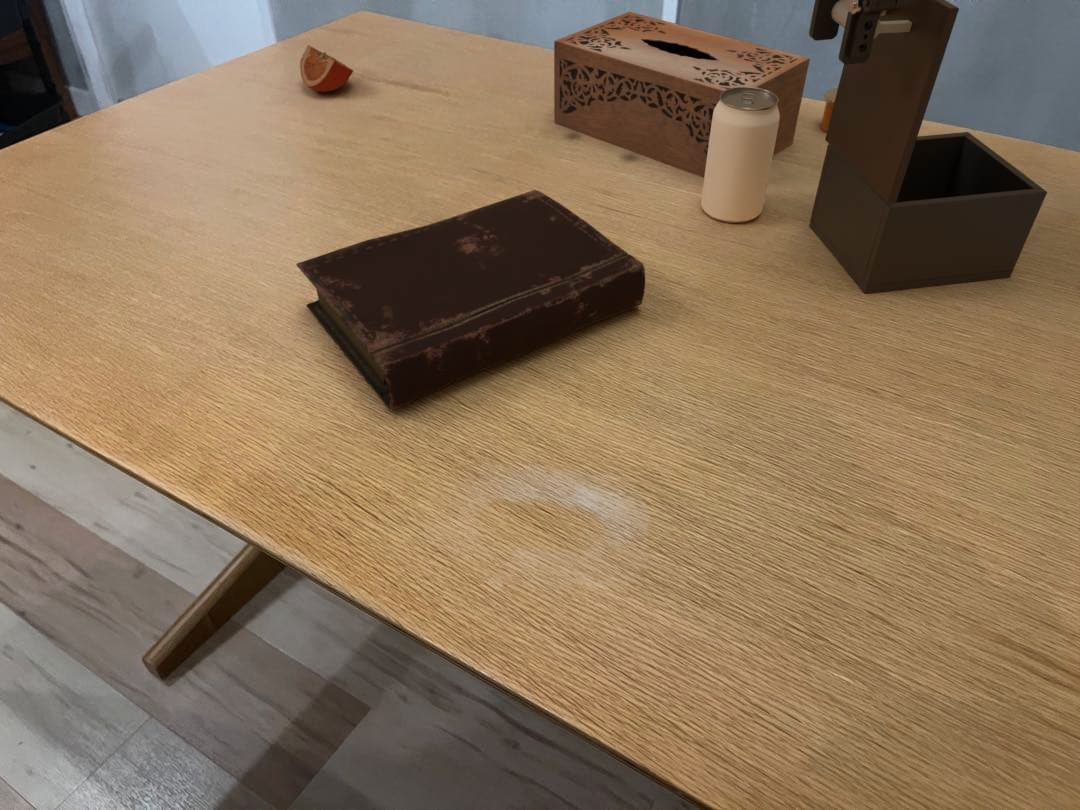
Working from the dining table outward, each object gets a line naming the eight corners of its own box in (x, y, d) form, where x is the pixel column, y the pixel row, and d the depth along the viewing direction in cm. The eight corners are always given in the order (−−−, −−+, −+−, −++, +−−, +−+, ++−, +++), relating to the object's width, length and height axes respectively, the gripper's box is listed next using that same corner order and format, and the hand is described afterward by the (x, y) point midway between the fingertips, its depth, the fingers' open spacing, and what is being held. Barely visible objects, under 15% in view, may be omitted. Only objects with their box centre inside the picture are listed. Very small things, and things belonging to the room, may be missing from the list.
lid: (877, -39, 68) (819, -36, 68) (959, 7, 59) (892, 11, 58) (832, 139, 79) (781, 142, 78) (896, 202, 69) (838, 207, 69)
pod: (849, 117, 104) (857, 86, 102) (868, 135, 101) (876, 102, 98) (810, 121, 104) (817, 89, 101) (828, 138, 100) (835, 106, 97)
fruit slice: (294, 85, 115) (286, 48, 112) (338, 74, 118) (332, 37, 115) (320, 103, 110) (312, 65, 107) (365, 91, 113) (359, 54, 109)
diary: (645, 311, 74) (649, 264, 70) (394, 420, 64) (385, 370, 60) (531, 225, 85) (530, 181, 82) (304, 305, 75) (292, 258, 72)
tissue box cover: (554, 122, 104) (554, 40, 98) (624, 89, 112) (629, 11, 106) (726, 185, 91) (740, 96, 85) (792, 142, 99) (809, 58, 92)
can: (697, 221, 86) (712, 107, 78) (703, 192, 90) (717, 82, 82) (760, 227, 84) (782, 113, 76) (763, 198, 89) (784, 87, 81)
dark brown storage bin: (940, 212, 86) (968, 131, 80) (1010, 277, 77) (1048, 191, 71) (808, 225, 85) (827, 144, 79) (864, 293, 75) (890, 207, 70)
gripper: (1007, -203, 50) (925, 79, 61) (893, -226, 60) (841, 18, 72) (891, -197, 49) (830, 87, 61) (796, -221, 60) (759, 25, 71)
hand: (836, 48), depth 66 cm, fingers closed on lid, 5 cm apart
